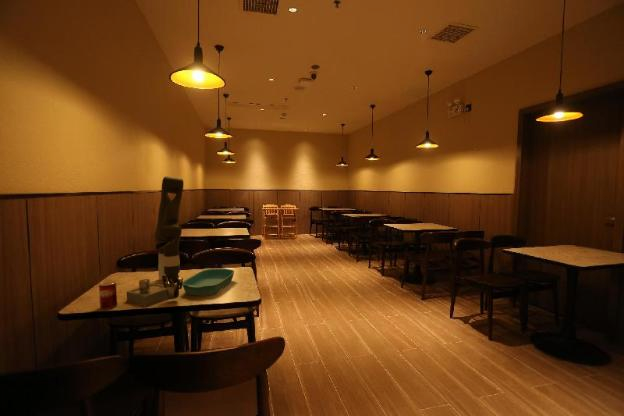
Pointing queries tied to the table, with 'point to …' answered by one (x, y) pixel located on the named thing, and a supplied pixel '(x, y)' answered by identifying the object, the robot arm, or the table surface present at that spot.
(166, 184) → the robot arm
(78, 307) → the table surface
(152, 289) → the scale pan
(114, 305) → the soda can
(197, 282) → the casserole dish
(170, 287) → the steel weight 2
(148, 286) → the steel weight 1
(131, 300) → the block
